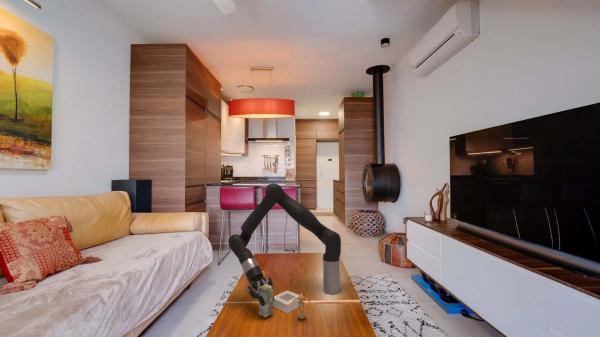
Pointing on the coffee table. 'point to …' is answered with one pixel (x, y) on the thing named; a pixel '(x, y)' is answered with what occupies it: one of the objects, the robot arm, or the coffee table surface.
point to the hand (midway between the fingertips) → (268, 303)
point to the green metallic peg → (266, 300)
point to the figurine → (300, 313)
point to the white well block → (286, 301)
